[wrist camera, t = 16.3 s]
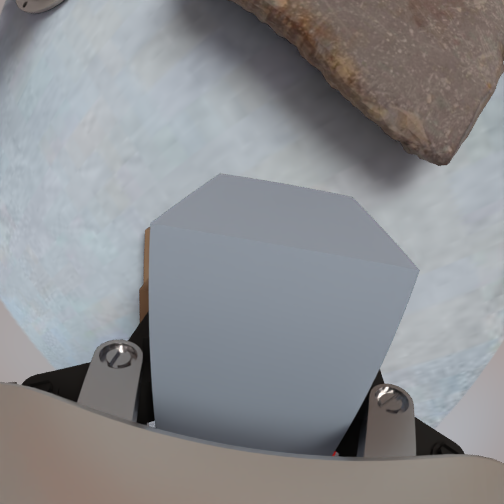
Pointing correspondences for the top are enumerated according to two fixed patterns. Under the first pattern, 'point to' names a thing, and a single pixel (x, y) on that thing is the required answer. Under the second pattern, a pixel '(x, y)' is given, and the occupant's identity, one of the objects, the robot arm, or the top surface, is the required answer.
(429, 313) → the top surface
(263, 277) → the grey rectangular block
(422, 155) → the stone slab
